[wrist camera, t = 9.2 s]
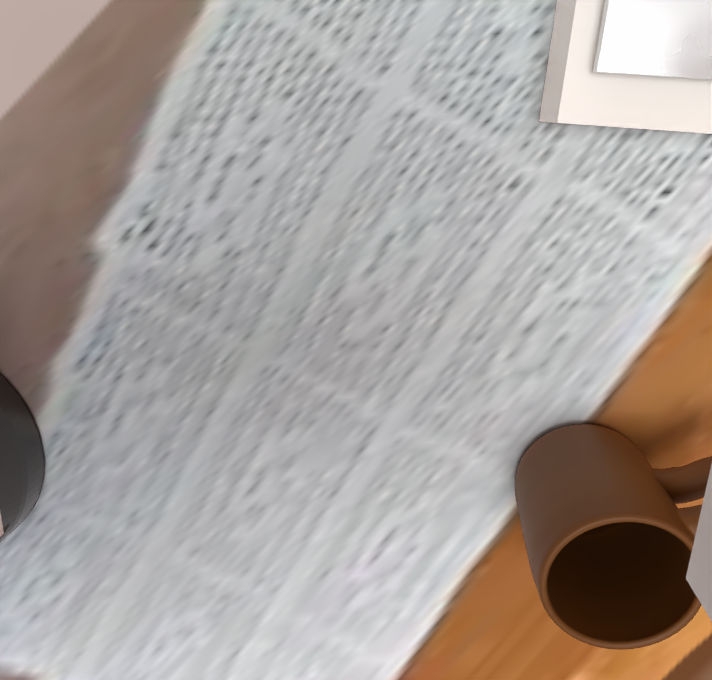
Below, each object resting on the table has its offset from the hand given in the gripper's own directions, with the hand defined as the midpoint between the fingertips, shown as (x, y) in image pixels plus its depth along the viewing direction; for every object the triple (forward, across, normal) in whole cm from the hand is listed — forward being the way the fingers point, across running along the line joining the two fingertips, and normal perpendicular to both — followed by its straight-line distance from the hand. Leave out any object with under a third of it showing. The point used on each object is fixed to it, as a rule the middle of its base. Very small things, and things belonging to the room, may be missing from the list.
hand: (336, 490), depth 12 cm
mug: (+24, +14, -12) cm, 30 cm away
